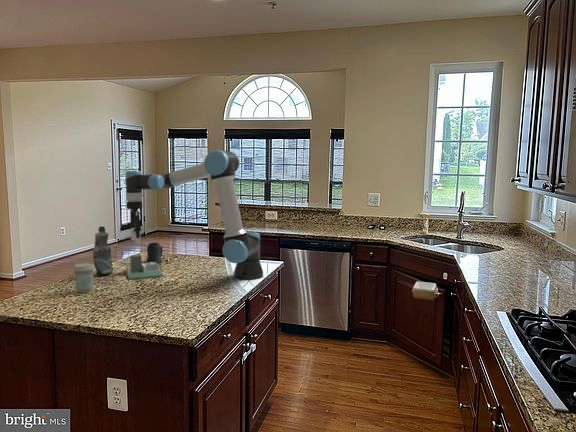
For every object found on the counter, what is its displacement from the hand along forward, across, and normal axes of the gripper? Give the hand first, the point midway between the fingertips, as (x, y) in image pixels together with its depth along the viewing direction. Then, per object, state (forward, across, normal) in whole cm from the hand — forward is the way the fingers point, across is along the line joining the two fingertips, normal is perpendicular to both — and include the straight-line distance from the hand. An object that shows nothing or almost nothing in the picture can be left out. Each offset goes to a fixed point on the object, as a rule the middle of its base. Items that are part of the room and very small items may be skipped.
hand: (135, 242), depth 218 cm
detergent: (+16, +3, +16) cm, 23 cm away
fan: (+15, +4, -8) cm, 18 cm away
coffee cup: (+17, -25, +25) cm, 39 cm away
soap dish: (+19, -94, -108) cm, 144 cm away
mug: (+17, +23, -14) cm, 32 cm away
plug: (+15, 0, 0) cm, 15 cm away
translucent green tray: (+16, -3, -3) cm, 17 cm away
